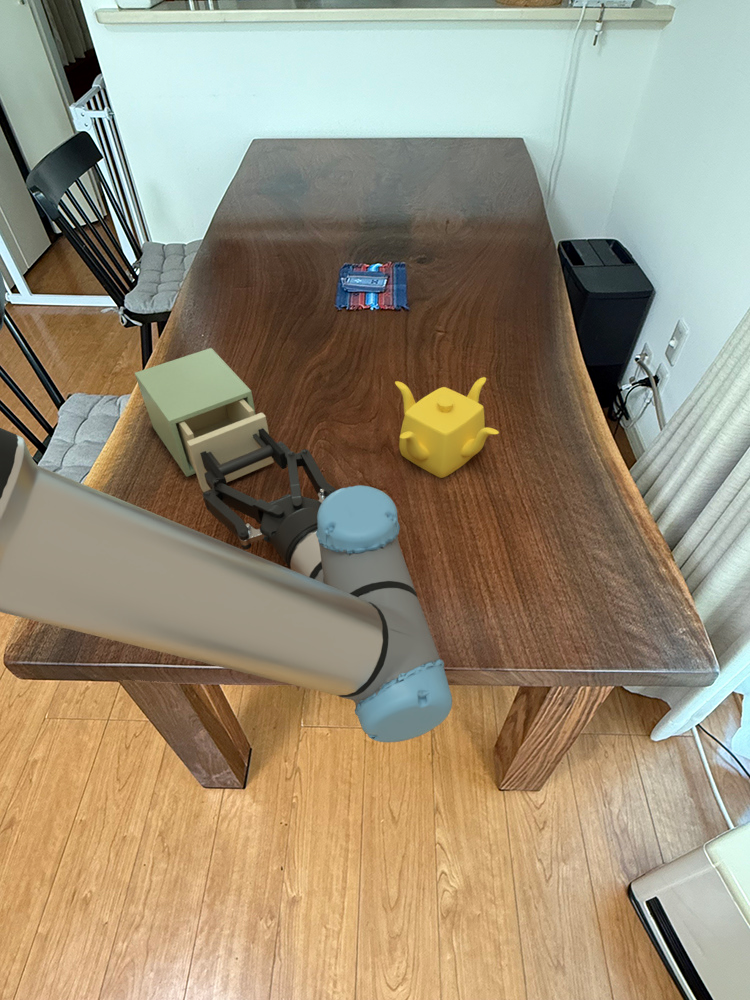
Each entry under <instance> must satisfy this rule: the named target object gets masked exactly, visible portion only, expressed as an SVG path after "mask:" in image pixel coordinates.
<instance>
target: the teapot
mask: <svg viewBox="0 0 750 1000" xmlns="http://www.w3.org/2000/svg"><path fill="white" fill-rule="evenodd" d="M486 382H487V377H485V376H482V377H480V378H478V379H476V381H475V382H474V384H473V385H472V387H471V388H470V390H469V392H468V394H467V395H463V394H461V393H459V392H457V391H455V390H453V389H450V388H449V387H446V386H442V387H439V388H437V389H436V390H434V391H432V392H430V393H429V394H426V396H424V397H422V398H421V399H419V400H418V401H416V400H415V398H414V395H413V393H412V391H411V389H410V388H409V387H408V385H407V384H406V383H403V382H401V381H398V380H397V381H395V382H394V384H395V386H396V387H397V388H398V390H399V391H400V393H401V397H402V401H403V420H402V425H401V429H400V434H399V442H398V443H399V444H398V449H399V452H400V455H401V456H402V457H403V458H405V459H406V460H407V461H409V462H411V463H413V464H414V465H415V466H417V467H419V468H420V469H422V470H425V471H426V472H427V473H430V474H432V475H433V476H435V477H437V478H440V479H443V478H446V477H448V476H449V475H451V474H453V473H455V472H456V471H457V470H459V469H460V468H461V467H463V466H464V465H465V464H467V463H468V462H469V461H470V460H471V459H472V458H473V457H474V456H475V455H477V454H478V453H480V452H481V450H482V449H483V448H484V445H485V444H486V443H485V442H486V440H487V438H488V437H489V436H493V435H495V436H496V435H498V434H500V431H498V430H497V429H495V428H493V427H489V426H488V427H487V426H486V423H485V419H486V418H485V409H484V408H485V407H484V405H482V404H481V403H479V401H480V400H479V399H480V395H481V391H482V388H483V387H484V385H485V383H486Z"/></svg>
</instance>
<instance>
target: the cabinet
mask: <svg viewBox="0 0 750 1000" xmlns="http://www.w3.org/2000/svg"><path fill="white" fill-rule="evenodd" d="M134 376H135V379H136V381H137V384H138V388H139V390H140V391H139V392H140V393H141V397H142V399H143V402H144V405H145V408H146V411H147V414H148V417H149V420H150V422H151V426H152V428H153V430H154V431H155V432H156V434H157V435H158V437H159V439H160V440H161V442H162V443H163V444H164V446H165V447H166V449H167V450H168V451H169V453H170V455H171V456H172V457H173V459H174V460H175V462H176V464H177V465H178V467H179V468H180V469H181V471H182V472H183V474H184V476H185V477H187V478H188V477H190V476H192V475H193V476H194V475H196V471H195V470H194V469H193V467H192V466H191V464H190V463H189V461H188V460H187V458H186V456H185V452H184V449H183V446H182V443H181V439H180V436H179V433H178V430H177V427H176V424H175V423H178V422H181V421H184V420H186V419H189V418H192V417H194V416H197V415H200V414H202V413H205V412H208V411H211V410H213V409H216V408H219V407H221V406H224V405H227V404H229V403H232V402H235V401H238V400H240V399H244V400H245V401H246V402H247V403H248V405H249V406H250V407H251V408H252V409H253V410H254V414H255V415H256V408H255V403H254V397H253V392H252V390H251V389H250V388H249V386H248V385H246V383H245V382H244V381H243V380H242V379H241V378H240V377H239V376H238V374H236V373H235V372H234V371H233V369H232V368H231V367H230V366H229V365H228V364H227V363H226V362H225V361H224V360H223V359H222V358H221V356H219V354H218V353H217V352H216V351H215V350H214V349H213V348H212V347H209V348H206V349H203V350H200V351H197V352H194V353H190V354H187V355H185V356H182V357H179V358H176V359H172V360H170V361H169V360H168V361H167V362H164V363H160V364H157V365H155V366H152V367H147V368H145V369H142V370H139V371H135V372H134Z"/></svg>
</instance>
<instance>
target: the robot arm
mask: <svg viewBox="0 0 750 1000" xmlns="http://www.w3.org/2000/svg"><path fill="white" fill-rule="evenodd" d="M6 299H7V298H6V285H5V280H4V276H3V274H2V270H0V331H1V330H2V329H3V326H4V323H5V322H4V318H5V316H6V311H5V307H6ZM258 431H259V436H260V438H261V440H262V441H263V442H264V443H265V444H266V445H270V446H271V447H272V449H273V452H274V455H273V456H271V457H272V458H273V461H274V462H275V463H276V464H277V465H278V466H279V468H280V469H281V470H284V469H286V468H287V471H288V478H289V488H290V493H287V494H284V495H283V496H282V497H279V499H275V500H271V501H269V502H268V501H266V500H264V499H262V498H259V499H256V498H254V497H252V496H250V495H248V494H246V493H244V492H242V491H240V490H238V489H235V488H234V487H231V486H229V485H228V482H226V479H225V477H224V475H223V474H222V473H221V471H220V470H219V469H218V467H217V466H216V465H215V463H214V462H213V461H212V459H211V458H210V457H209V455H208V454H207V453H206V451H204V452H202V453H200V454H201V458H202V461H203V465H204V468H205V469H206V471H207V472H206V473H205V479H206V483H207V485H208V486H209V487H210V490H208V491H205V492H203V493H202V498H203V501H204V505H205V508H206V510H207V511H208V512H209V513H210V514H211V515H213V517H214V518H216V519H217V520H218V522H220V523H221V524H222V525H223V526H224V527H225V528H227V529H228V530H229V532H231V533H232V534H233V535H234V536H235V537H236V538H237V539H238V541H239V544H240V546H241V547H237V546H235V545H232V544H229V543H227V542H224V541H222V540H220V539H218V538H216V537H214V536H213V537H212V536H210V535H208V534H206V533H203V532H200V531H198V530H196V529H193V528H191V527H188V526H187V525H184V524H181V523H178V522H177V521H174V520H171V519H169V518H166V517H164V516H161V515H159V514H157V513H154V512H152V511H150V510H147V509H145V508H142V507H141V506H140V507H139V506H138V505H135V504H133V503H130V502H128V501H125V500H123V499H120V498H118V497H115V496H113V495H110V494H108V493H106V492H103V491H101V490H98V489H96V488H95V487H91V486H89V485H87V484H84V483H82V482H80V481H76V480H74V479H72V478H70V477H67V476H65V475H63V474H59V473H58V472H55V471H52V470H50V469H48V468H46V467H42V466H41V465H38V463H36V462H35V460H34V459H33V457H32V455H31V452H30V450H29V448H28V445H27V443H26V440H25V439H24V437H22V436H20V435H19V434H16V433H14V432H11V431H9V430H6V429H4V428H3V427H0V613H2V614H7V615H11V616H13V617H18V618H22V619H26V620H31V621H35V622H37V623H42V624H46V625H50V626H53V627H58V628H63V629H67V630H70V631H75V632H77V633H83V634H86V635H91V636H95V637H98V638H103V639H107V640H111V641H115V642H119V643H122V644H126V645H130V646H135V647H139V648H144V649H147V650H151V651H155V652H160V653H164V654H166V655H170V656H171V655H172V656H175V657H179V658H183V659H188V660H192V661H195V662H199V663H204V664H207V665H212V666H216V667H220V668H224V669H227V670H231V671H236V672H240V673H243V674H247V675H251V676H255V677H260V678H264V679H267V680H271V681H275V682H280V683H284V684H288V685H292V686H296V687H300V688H304V689H308V690H312V691H317V692H320V693H324V694H327V695H332V696H336V697H339V698H342V699H345V700H351V701H353V702H354V704H355V709H354V714H355V715H356V716H357V718H358V721H359V724H360V726H361V729H362V731H363V732H364V733H365V734H366V735H367V736H368V738H369V739H370V740H373V741H376V742H379V743H387V744H388V743H399V742H405V741H409V740H413V739H415V738H418V737H421V736H424V735H425V734H427V733H429V732H431V731H432V730H433V729H435V728H437V727H438V726H440V725H441V724H442V723H443V722H444V721H445V720H446V719H447V717H448V716H449V715H450V713H451V710H452V707H453V696H452V691H451V688H450V685H449V682H448V677H447V674H446V670H445V662H444V660H443V659H441V657H440V655H439V651H438V649H437V646H436V644H435V641H434V638H433V636H432V633H431V629H430V627H429V624H428V621H427V619H426V617H425V614H424V611H423V608H422V605H421V603H420V600H419V598H418V593H417V592H416V588H415V586H414V582H413V580H412V577H411V573H410V571H409V569H408V565H407V563H406V560H405V557H404V555H403V551H402V549H401V547H400V542H399V534H400V530H401V525H400V523H399V518H398V509H397V506H396V504H395V502H394V500H393V499H392V498H391V497H390V496H389V495H388V494H387V493H385V492H384V491H382V490H381V489H378V488H376V487H372V486H370V485H360V484H359V485H354V486H348V487H341V488H339V489H337V488H335V486H333V485H331V484H330V483H329V482H328V481H327V480H326V478H325V476H324V474H323V473H322V471H321V469H320V468H319V466H318V464H317V462H316V461H315V459H314V457H313V455H312V454H311V452H310V450H308V449H305V448H304V449H302V450H300V452H297V453H296V452H295V451H292V450H291V449H290V448H289V447H288V446H287V445H286V444H285V442H283V441H279V442H276V441H275V439H274V438H272V436H271V435H270V433H269V434H268V433H267V432H266V431H265V430H264V429H263V428H262V429H259V430H258ZM299 467H300V468H301V467H302V469H303V471H304V472H305V474H306V476H307V478H308V480H309V482H310V483H311V485H312V487H313V489H314V491H315V492H316V494H317V499H314V498H312V497H307V496H302V491H301V484H300V478H299V469H298V468H299ZM232 509H233V510H232ZM234 510H235V511H237V512H239V513H241V514H243V515H245V516H247V517H249V518H251V519H252V520H255V522H256V523H257V524H259V528H255V527H254V526H252V525H251V524H250V523H245V521H244V520H243V519H242V517H241V516H240V515H238V514H237V513H236V512H235V511H234ZM261 540H263V541H265V542H267V543H269V544H271V545H272V546H273V549H274V550H275V551H276V552H277V554H278V555H279V556H280V558H281V559H282V560H283V562H284V563H285V564H286V565H287V567H285V566H283V565H280V564H279V563H276V562H273V561H271V560H270V559H269V560H268V559H266V558H264V557H261V556H258V555H256V554H254V553H252V552H249V551H247V550H250V549H251V548H252V543H255V542H259V541H261Z"/></svg>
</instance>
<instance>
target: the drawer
mask: <svg viewBox="0 0 750 1000" xmlns="http://www.w3.org/2000/svg"><path fill="white" fill-rule="evenodd" d="M175 424H176V427H177V430H178V433H179V436H180V439H181V443H182V446H183V449H184V452H185V456H186V458H187V460H188V461H189V463H190V464H191V466H192V467H193V469H194V470H195V471H196V473H195V475H196V477H197V482H198V485H199V488H200V489H201V491H202V492H203V493H204V492H205V491H211V489H210V487H209V486H208V485H207V483H206V479H205V473H206V472H207V471H206V469H205V468H204V465H203V461H202V458H201V454H200V453H202V452H204V451H206V453H207V454H208V455H209V457H210V458H211V459H212V461H213V462H214V463H215V465H216V466H217V467H218V469H219V470H220V471H221V473H222V474H223V475H224V477H225V479H226V482H227V483H230V482H231V481H234V480H237V479H239V478H241V477H243V476H245V475H246V476H247V475H249V474H250V473H252V472H255V471H257V470H260V469H262V468H264V467H267V466H270V465H271V464H272V465H273V464H274V462H275V460H274V459H273V458H272V457H271V456H273V455H274V452H273V449H272V447H271V446H270V445H266V444H265V443H264V442H263V441H262V440H261V438H260V436H259V431H258V430H259V429H262V428H263V429H264V430H265V431H266V432H267V433H268V434H269V435H270V432H269V427H268V420H267V416H266V415H265V414H264V412H259V413H257V414H256V415H255V414H254V410H253V409H252V408H251V407H250V406H249V405H248V403H247V402H246V401H245V400H244V399H240V400H238V401H235V402H232V403H229V404H227V405H224V406H221V407H219V408H216V409H213V410H211V411H208V412H205V413H202V414H200V415H197V416H194V417H192V418H189V419H186V420H184V421H181V422H178V423H175Z"/></svg>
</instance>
